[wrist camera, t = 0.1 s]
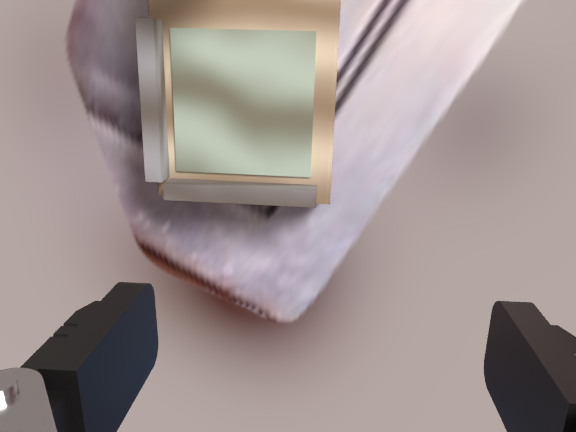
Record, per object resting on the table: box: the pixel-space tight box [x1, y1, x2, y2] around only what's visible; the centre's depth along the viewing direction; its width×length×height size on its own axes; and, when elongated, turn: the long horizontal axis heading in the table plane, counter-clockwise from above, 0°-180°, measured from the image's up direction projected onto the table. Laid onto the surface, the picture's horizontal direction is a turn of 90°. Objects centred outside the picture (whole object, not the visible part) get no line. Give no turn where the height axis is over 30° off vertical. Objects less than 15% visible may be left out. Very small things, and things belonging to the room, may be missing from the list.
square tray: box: [135, 0, 341, 208], centre depth 36 cm, size 14×13×6 cm
